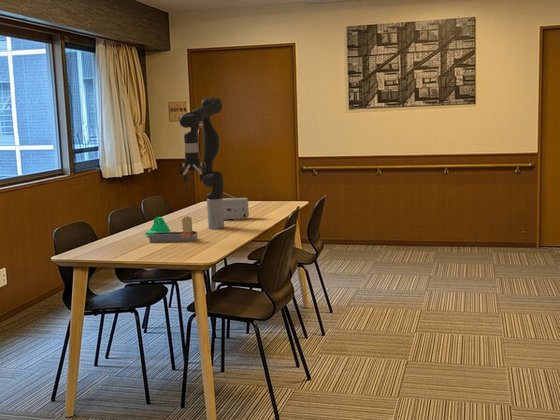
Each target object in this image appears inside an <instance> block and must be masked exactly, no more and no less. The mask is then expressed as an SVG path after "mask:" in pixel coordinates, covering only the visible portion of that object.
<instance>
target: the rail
mask: <svg viewBox="0 0 560 420" xmlns="http://www.w3.org/2000/svg"><path fill="white" fill-rule="evenodd" d="M192 232H193V234H191V233H183V231H170V232H154V233H153V234H151V235H148V239H149V243H187V242H189V243H191V242H195V241H197V240H198V231H195V230H192Z"/></svg>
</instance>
